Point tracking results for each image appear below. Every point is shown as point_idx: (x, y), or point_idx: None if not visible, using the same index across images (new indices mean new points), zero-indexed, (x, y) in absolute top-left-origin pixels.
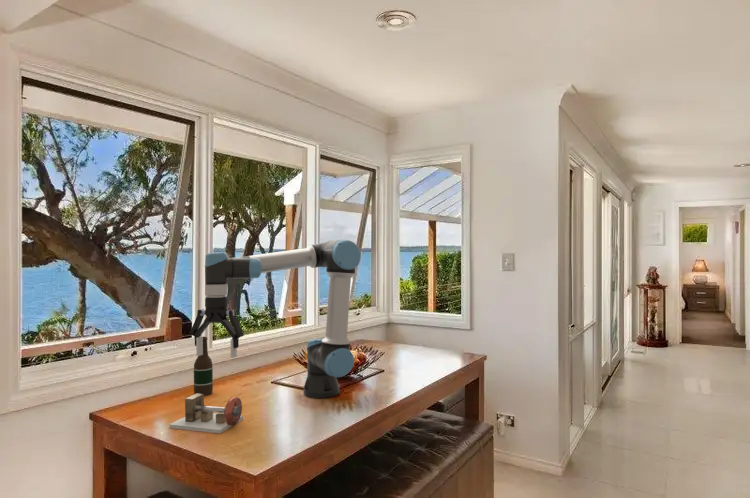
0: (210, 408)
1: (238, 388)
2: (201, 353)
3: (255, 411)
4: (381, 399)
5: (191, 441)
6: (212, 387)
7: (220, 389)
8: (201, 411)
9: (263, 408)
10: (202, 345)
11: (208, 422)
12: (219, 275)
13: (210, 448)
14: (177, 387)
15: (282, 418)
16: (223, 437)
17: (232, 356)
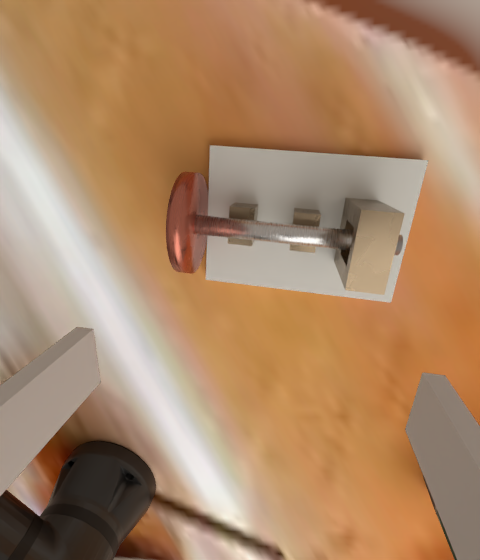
0: (283, 225)
1: (355, 514)
2: (415, 424)
3: (206, 341)
4: None
5: (270, 51)
6: (431, 500)
7: (410, 508)
8: (339, 253)
9: (197, 365)
10: (442, 511)
11: (286, 205)
12: None
13: (171, 5)
14: None
15: (105, 296)
16: (184, 115)
17: (68, 334)
